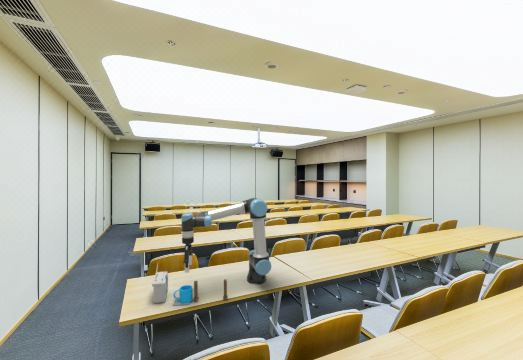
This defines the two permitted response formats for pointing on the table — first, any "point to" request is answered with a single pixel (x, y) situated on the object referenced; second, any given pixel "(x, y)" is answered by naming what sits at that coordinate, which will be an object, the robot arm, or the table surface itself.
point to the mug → (185, 294)
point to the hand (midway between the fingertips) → (188, 268)
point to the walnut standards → (197, 291)
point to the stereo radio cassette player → (160, 286)
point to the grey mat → (177, 302)
